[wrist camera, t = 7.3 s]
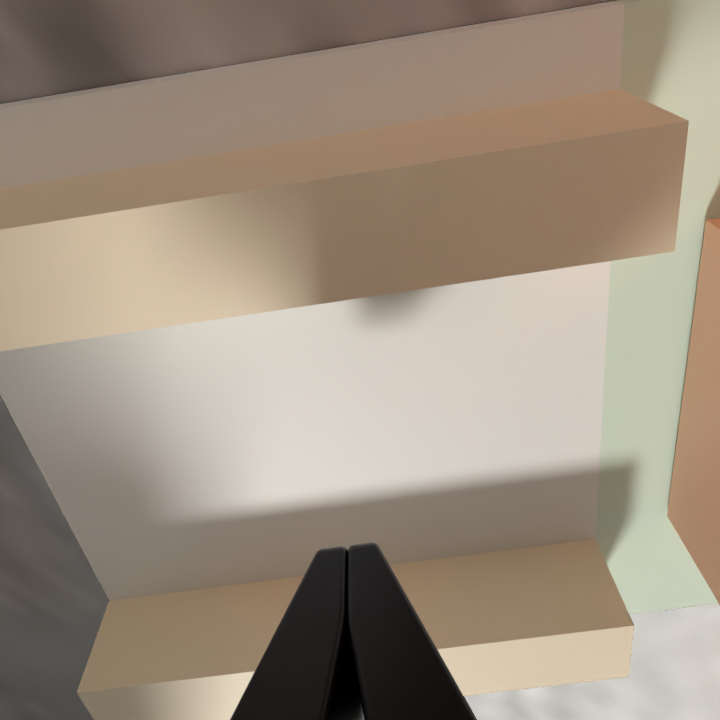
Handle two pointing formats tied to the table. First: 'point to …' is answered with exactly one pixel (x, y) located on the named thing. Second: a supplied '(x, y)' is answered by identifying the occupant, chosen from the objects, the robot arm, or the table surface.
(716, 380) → the block
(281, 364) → the beige railed tray
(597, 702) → the table surface
